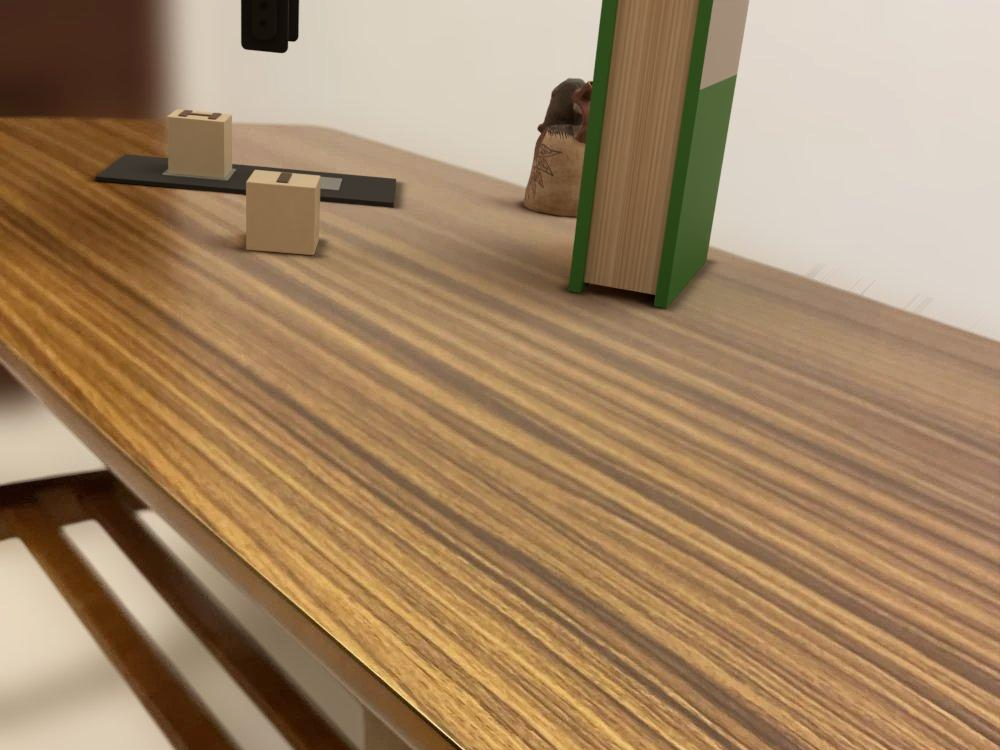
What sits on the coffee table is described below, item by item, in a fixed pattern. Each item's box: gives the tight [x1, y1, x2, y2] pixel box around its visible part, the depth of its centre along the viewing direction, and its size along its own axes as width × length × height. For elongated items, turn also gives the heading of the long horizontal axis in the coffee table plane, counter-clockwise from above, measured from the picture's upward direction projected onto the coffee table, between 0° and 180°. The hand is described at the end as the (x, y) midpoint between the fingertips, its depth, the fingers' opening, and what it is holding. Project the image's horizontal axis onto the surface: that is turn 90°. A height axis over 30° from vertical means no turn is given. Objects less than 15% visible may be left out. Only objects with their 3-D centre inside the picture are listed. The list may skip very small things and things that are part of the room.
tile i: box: [245, 170, 321, 256], centre depth 93 cm, size 5×5×5 cm
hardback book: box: [567, 0, 750, 309], centre depth 93 cm, size 18×7×24 cm, turn 163°
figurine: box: [523, 77, 593, 218], centre depth 116 cm, size 7×7×12 cm
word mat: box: [95, 153, 397, 208], centre depth 115 cm, size 26×12×1 cm, turn 95°
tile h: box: [166, 108, 233, 179], centre depth 113 cm, size 5×5×5 cm
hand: (271, 45), depth 91 cm, fingers open, 9 cm apart
